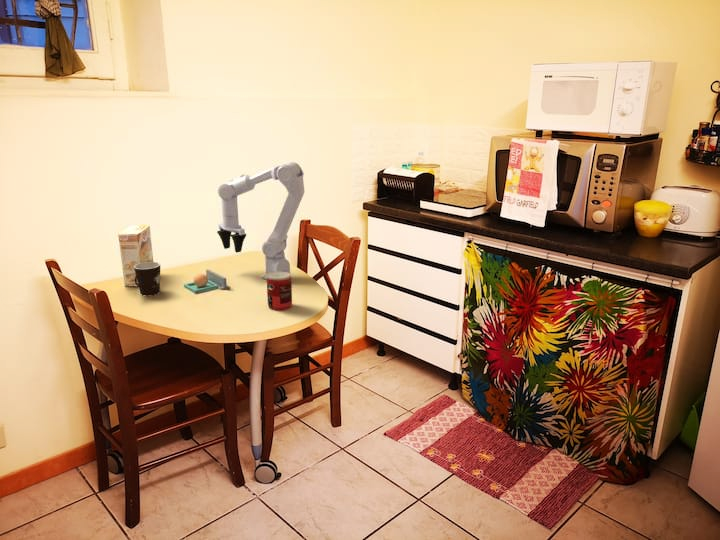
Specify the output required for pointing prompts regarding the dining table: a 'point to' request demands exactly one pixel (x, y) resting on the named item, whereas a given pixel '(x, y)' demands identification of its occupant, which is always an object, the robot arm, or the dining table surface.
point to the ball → (200, 280)
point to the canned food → (279, 290)
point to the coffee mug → (148, 277)
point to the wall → (217, 279)
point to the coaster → (196, 289)
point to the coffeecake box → (134, 250)
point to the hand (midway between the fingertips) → (232, 250)
